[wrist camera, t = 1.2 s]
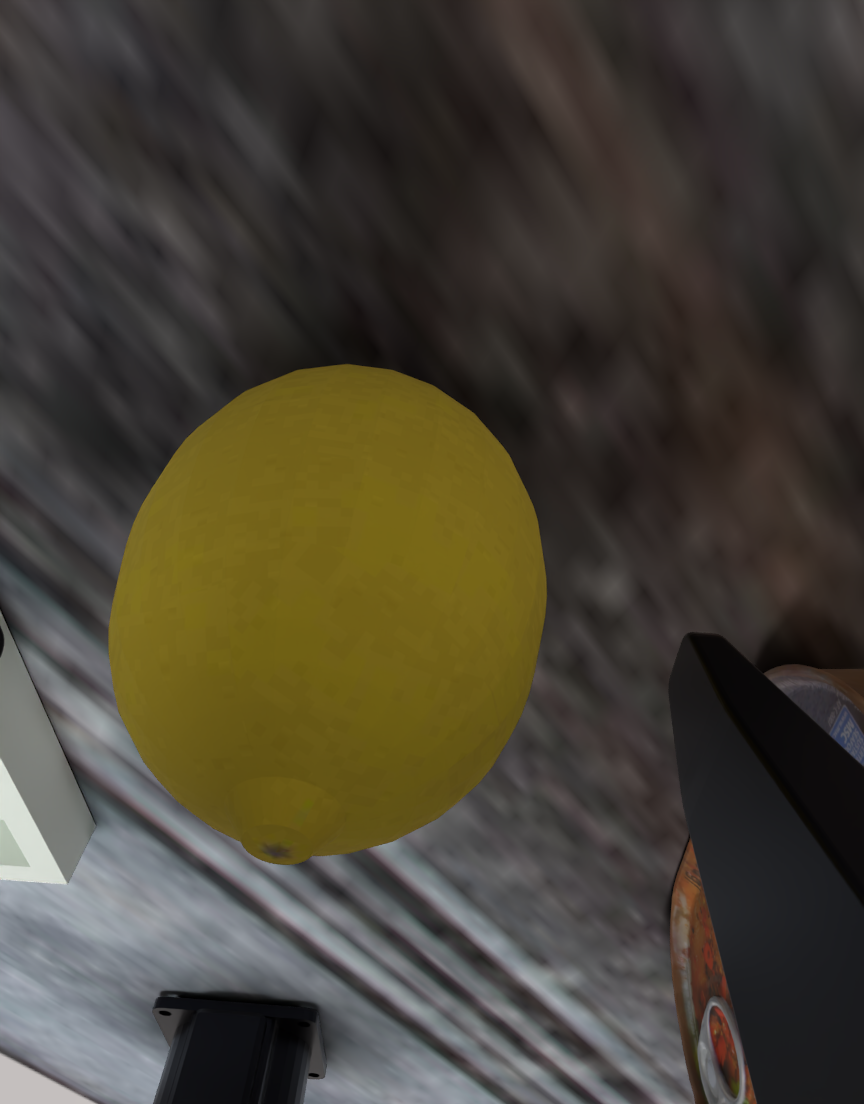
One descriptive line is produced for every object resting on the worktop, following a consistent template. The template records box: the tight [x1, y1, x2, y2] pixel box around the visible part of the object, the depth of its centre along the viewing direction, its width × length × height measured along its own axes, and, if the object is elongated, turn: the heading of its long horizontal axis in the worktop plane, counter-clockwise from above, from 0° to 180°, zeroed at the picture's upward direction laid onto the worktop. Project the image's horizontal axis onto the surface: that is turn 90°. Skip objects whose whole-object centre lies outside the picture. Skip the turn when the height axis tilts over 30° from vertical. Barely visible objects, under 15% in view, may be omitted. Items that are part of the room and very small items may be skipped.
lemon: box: [109, 364, 547, 865], centre depth 10 cm, size 6×6×8 cm
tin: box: [670, 664, 864, 1104], centre depth 15 cm, size 15×3×8 cm, turn 0°
